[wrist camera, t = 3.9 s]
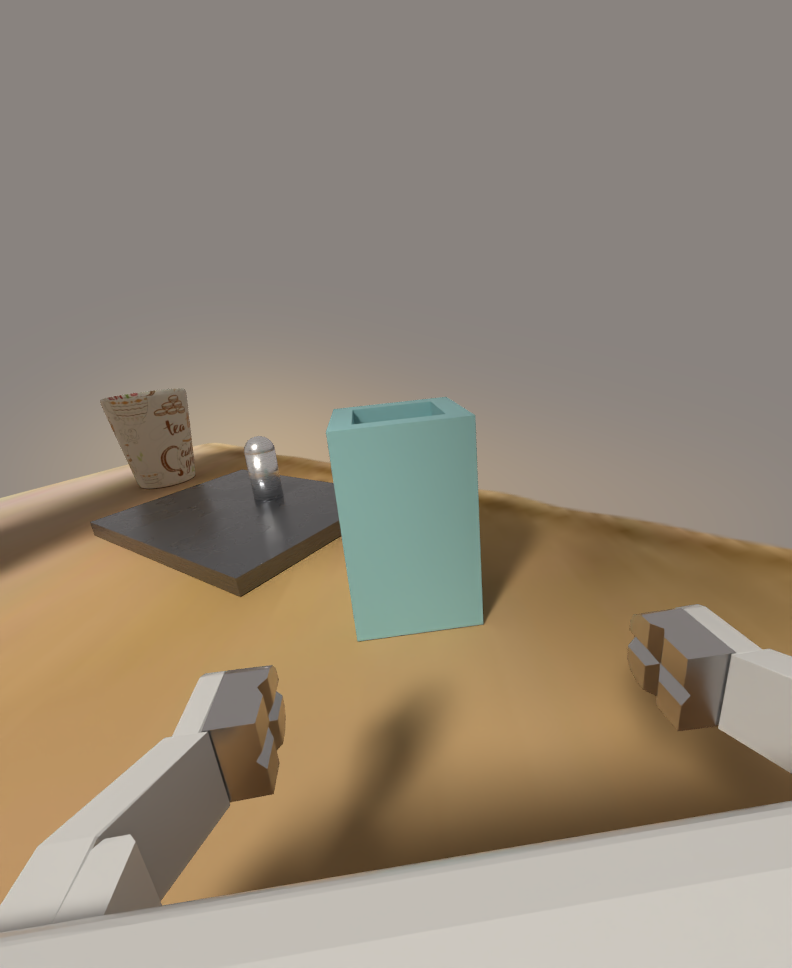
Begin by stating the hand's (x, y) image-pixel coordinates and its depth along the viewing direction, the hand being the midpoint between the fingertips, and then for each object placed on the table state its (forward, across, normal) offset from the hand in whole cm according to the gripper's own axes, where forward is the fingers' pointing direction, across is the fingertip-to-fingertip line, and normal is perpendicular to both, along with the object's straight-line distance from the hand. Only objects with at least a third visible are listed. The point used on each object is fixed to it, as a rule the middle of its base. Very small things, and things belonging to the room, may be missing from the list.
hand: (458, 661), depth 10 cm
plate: (+27, +13, +6) cm, 30 cm away
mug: (+44, +27, +6) cm, 52 cm away
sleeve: (+12, 0, +6) cm, 14 cm away
